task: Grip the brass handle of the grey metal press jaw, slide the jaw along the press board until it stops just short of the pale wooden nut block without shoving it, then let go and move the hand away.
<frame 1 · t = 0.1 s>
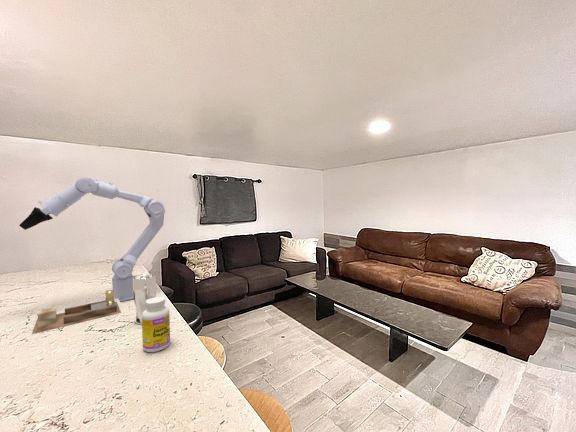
hand: (23, 227, 86), 32 cm above the countertop, tool tilted 50°, fingers open, 7 cm apart
supplement bottle: (157, 347, 68), on the countertop
nut block: (47, 322, 81), point 1 cm above the countertop, touching press board
press jaw: (103, 300, 90), point 5 cm above the countertop, slide at 0.0 cm
press board: (80, 319, 86), on the countertop
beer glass: (146, 321, 84), on the countertop
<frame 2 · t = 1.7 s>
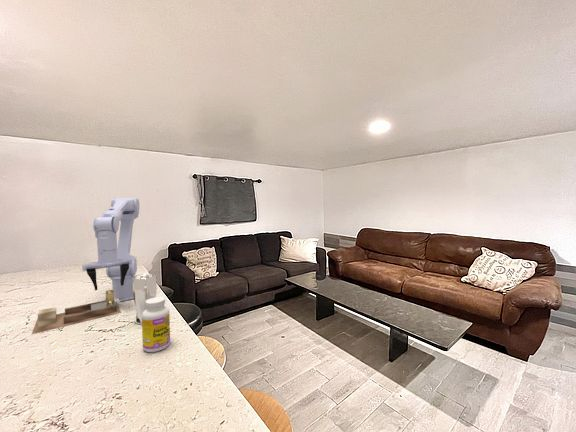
hand: (109, 287, 91), 9 cm above the countertop, tool pointing down, fingers open, 7 cm apart
nothing on the countertop moved.
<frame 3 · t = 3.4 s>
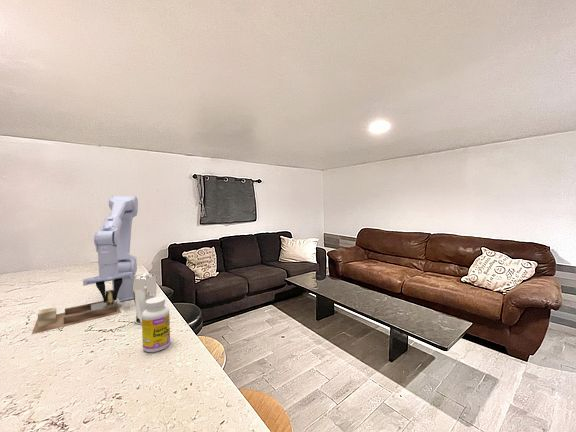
hand: (110, 300, 91), 4 cm above the countertop, tool pointing down, fingers closed on press jaw, 2 cm apart
press jaw: (103, 300, 90), point 5 cm above the countertop, slide at 0.0 cm, touching gripper
everything else where it was.
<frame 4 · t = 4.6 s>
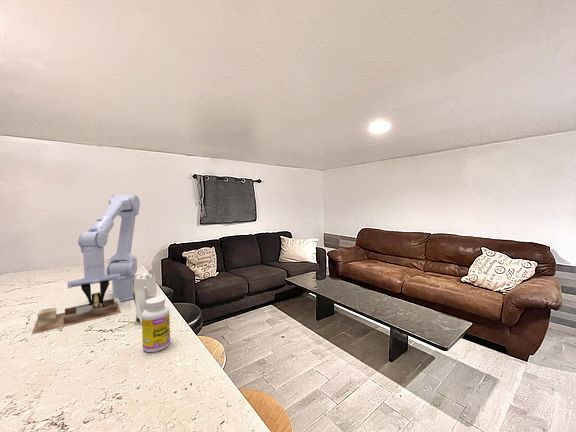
hand: (96, 303, 88), 4 cm above the countertop, tool pointing down, fingers closed on press jaw, 2 cm apart
press jaw: (89, 303, 87), point 5 cm above the countertop, slide at 4.0 cm, touching gripper
everything else where it was.
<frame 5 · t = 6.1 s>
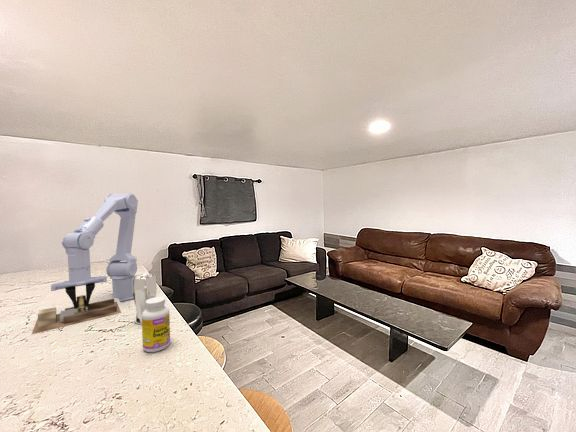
hand: (81, 306, 86), 4 cm above the countertop, tool pointing down, fingers closed on press jaw, 2 cm apart
press jaw: (73, 306, 85), point 5 cm above the countertop, slide at 8.0 cm, touching gripper
everything else where it was.
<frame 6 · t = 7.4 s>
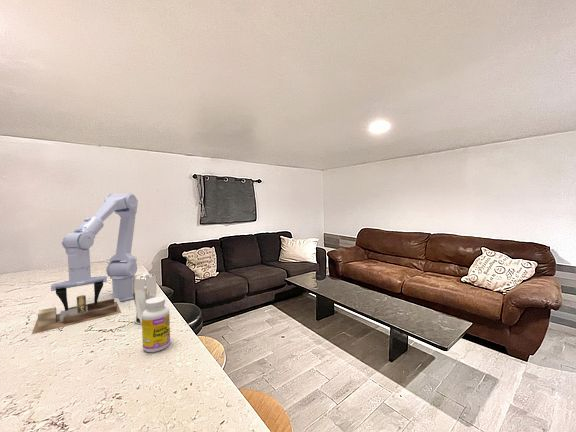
hand: (81, 306, 86), 4 cm above the countertop, tool pointing down, fingers open, 7 cm apart
press jaw: (73, 306, 85), point 5 cm above the countertop, slide at 8.0 cm
everything else where it was.
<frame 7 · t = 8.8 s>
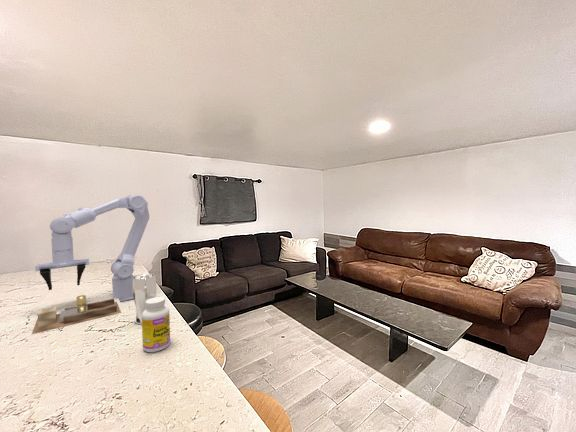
hand: (64, 287, 92), 9 cm above the countertop, tool pointing down, fingers open, 7 cm apart
nothing on the countertop moved.
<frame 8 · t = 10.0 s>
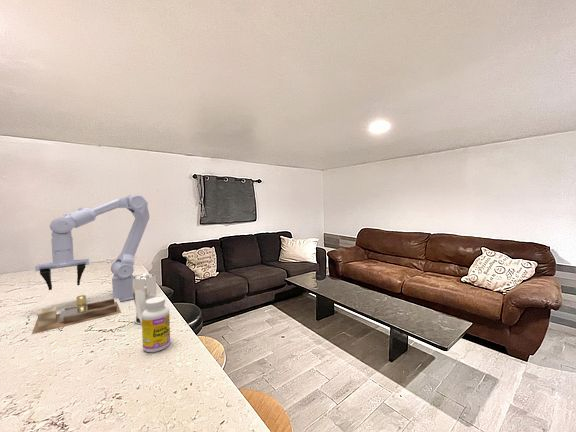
hand: (64, 287, 92), 9 cm above the countertop, tool pointing down, fingers open, 7 cm apart
nothing on the countertop moved.
at the end: press jaw slide at 8.0 cm; nut block moved 0.0 cm from its start; the gripper is holding nothing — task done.
